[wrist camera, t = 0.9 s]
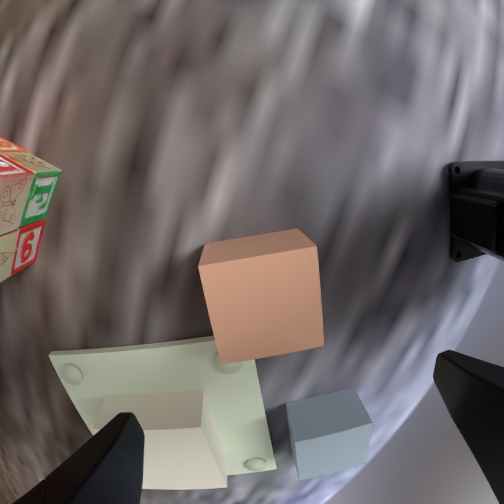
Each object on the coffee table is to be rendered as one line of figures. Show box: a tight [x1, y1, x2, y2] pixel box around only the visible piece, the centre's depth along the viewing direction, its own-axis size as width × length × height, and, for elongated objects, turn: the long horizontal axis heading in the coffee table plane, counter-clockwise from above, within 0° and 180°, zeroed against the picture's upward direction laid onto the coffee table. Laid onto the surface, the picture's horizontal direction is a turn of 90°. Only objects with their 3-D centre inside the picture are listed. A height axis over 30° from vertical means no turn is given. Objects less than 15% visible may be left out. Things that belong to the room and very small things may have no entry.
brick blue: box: [286, 387, 372, 481], centre depth 19 cm, size 5×5×4 cm
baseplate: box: [48, 335, 277, 475], centre depth 19 cm, size 14×14×1 cm
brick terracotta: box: [198, 228, 324, 364], centre depth 16 cm, size 5×5×4 cm
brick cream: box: [92, 389, 227, 490], centre depth 18 cm, size 7×7×4 cm
